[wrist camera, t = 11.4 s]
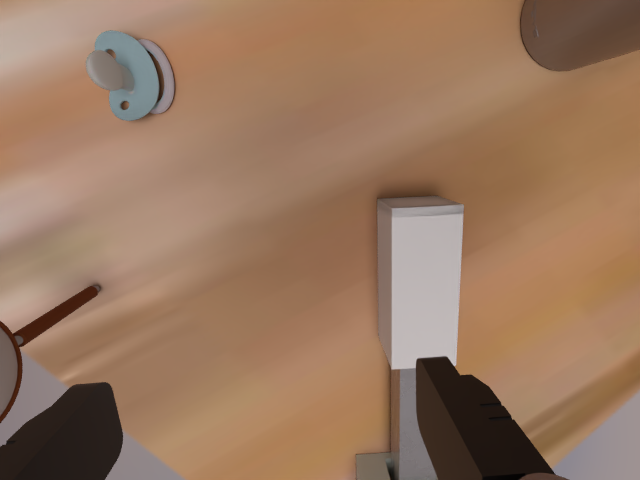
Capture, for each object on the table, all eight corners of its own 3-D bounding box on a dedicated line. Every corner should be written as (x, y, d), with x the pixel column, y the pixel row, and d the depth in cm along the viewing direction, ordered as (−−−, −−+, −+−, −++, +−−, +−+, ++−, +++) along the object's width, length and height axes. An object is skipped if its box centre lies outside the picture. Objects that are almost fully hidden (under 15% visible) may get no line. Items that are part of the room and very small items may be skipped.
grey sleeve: (436, 195, 37) (463, 204, 31) (432, 332, 41) (455, 365, 35) (377, 198, 37) (391, 208, 31) (378, 335, 41) (391, 369, 35)
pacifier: (165, 32, 33) (99, 42, 33) (136, 5, 27) (55, 17, 27) (184, 115, 35) (122, 125, 35) (161, 107, 29) (86, 119, 29)
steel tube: (428, 291, 38) (443, 307, 34) (423, 489, 45) (435, 522, 41) (390, 293, 38) (400, 310, 34) (390, 491, 44) (398, 525, 40)
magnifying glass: (75, 250, 37) (-173, 357, 18) (92, 247, 37) (-139, 351, 18) (102, 326, 40) (-95, 494, 20) (118, 323, 40) (-65, 489, 20)
